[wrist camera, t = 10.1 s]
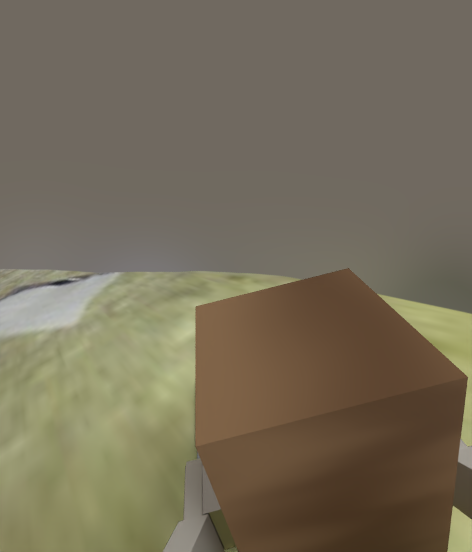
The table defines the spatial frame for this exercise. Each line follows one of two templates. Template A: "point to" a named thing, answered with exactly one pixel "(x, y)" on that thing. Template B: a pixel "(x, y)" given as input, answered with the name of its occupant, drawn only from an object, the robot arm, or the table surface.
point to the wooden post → (326, 420)
